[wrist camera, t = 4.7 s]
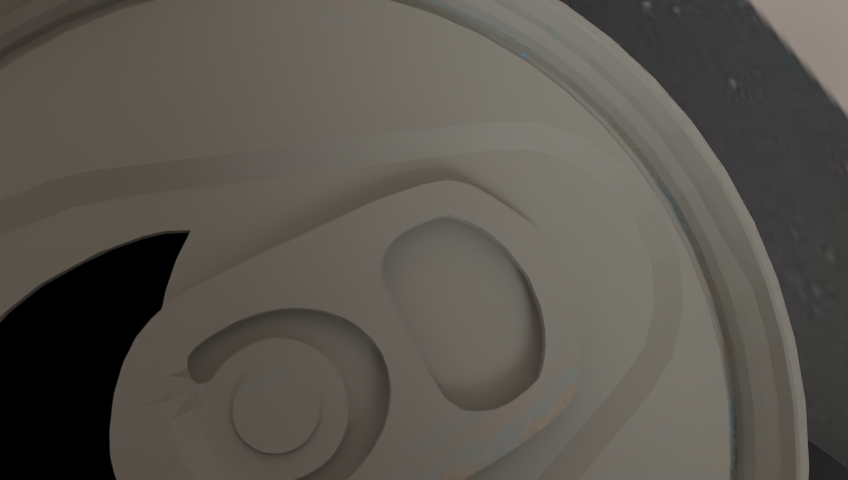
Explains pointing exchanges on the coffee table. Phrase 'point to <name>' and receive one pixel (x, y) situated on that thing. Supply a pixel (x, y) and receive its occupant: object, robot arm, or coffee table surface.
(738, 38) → the coffee table surface
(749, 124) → the coffee table surface
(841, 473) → the robot arm
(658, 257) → the beverage can
